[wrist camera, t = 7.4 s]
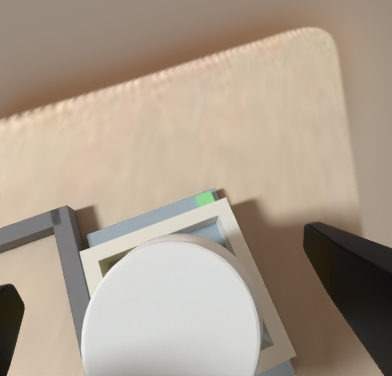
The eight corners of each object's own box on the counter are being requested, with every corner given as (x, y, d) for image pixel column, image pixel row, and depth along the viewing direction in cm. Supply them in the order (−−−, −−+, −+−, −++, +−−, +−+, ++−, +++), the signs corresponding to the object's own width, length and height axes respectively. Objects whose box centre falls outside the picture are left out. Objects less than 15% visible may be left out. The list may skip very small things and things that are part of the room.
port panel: (292, 370, 15) (310, 386, 12) (142, 443, 13) (132, 474, 11) (214, 191, 18) (217, 177, 16) (89, 236, 17) (74, 229, 15)
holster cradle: (111, 360, 15) (105, 367, 13) (-66, 437, 13) (-89, 451, 12) (74, 210, 17) (66, 205, 16) (-75, 262, 16) (-95, 260, 15)
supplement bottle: (213, 240, 16) (241, 184, 7) (249, 336, 15) (347, 428, 5) (125, 271, 16) (28, 254, 6) (152, 375, 14) (72, 557, 5)
